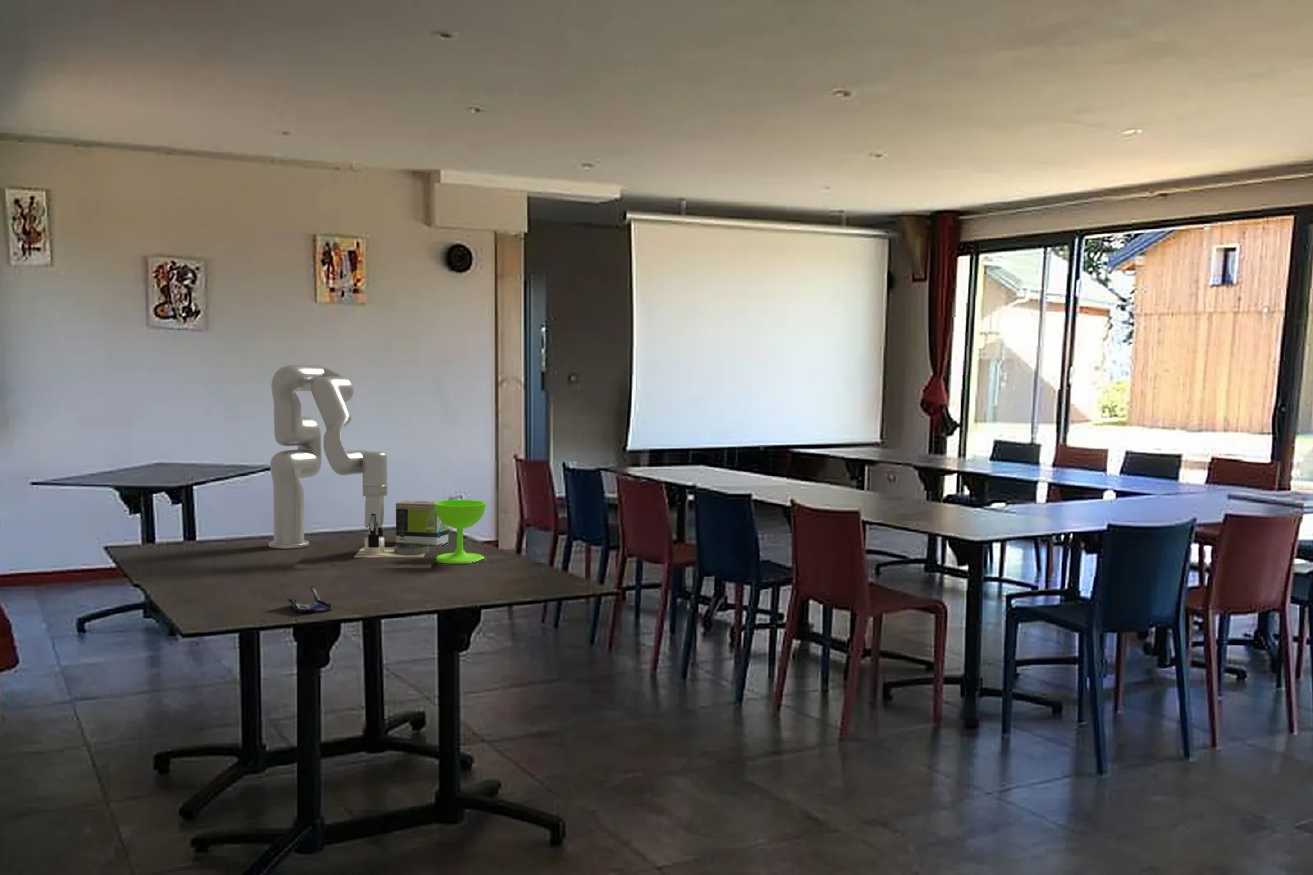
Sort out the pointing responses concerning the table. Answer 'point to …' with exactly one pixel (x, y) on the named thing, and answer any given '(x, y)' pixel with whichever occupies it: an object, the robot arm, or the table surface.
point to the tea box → (419, 523)
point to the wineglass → (459, 525)
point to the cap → (375, 549)
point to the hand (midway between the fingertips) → (375, 544)
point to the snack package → (316, 607)
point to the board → (387, 553)
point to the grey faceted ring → (411, 549)
